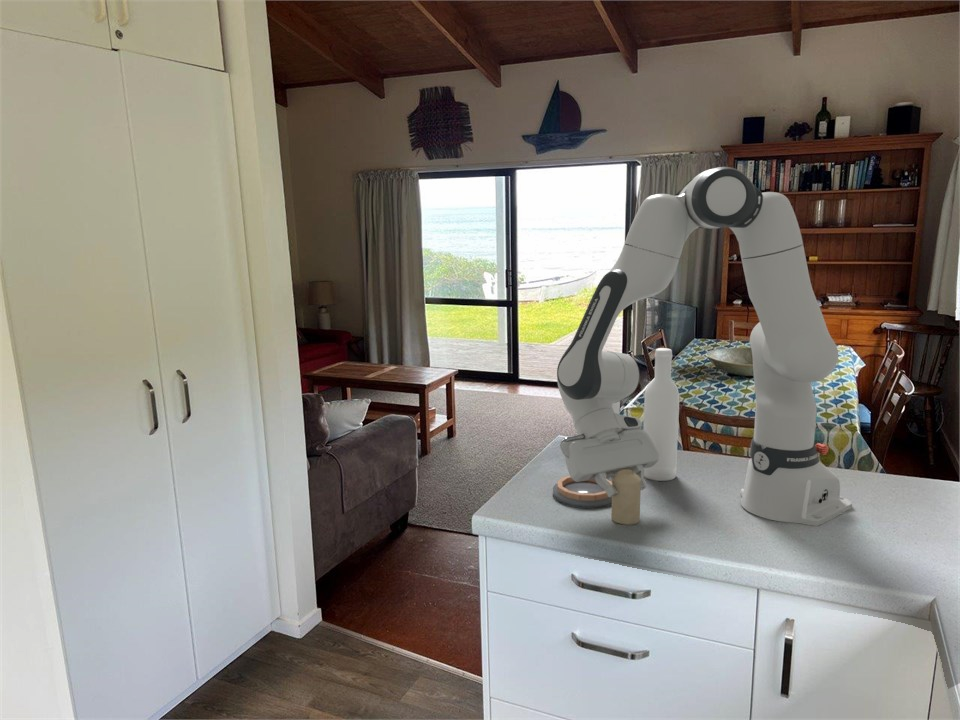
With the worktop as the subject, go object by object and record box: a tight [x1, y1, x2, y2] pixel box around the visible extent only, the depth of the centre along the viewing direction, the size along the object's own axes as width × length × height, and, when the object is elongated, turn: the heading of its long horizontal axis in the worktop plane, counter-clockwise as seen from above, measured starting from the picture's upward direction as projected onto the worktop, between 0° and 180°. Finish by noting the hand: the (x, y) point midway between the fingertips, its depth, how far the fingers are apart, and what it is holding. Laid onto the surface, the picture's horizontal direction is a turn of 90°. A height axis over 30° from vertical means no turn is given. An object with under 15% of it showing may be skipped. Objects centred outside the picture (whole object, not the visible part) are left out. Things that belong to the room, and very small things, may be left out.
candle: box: [610, 469, 642, 526], centre depth 131 cm, size 6×6×10 cm
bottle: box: [643, 347, 680, 482], centre depth 153 cm, size 8×8×30 cm
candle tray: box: [552, 475, 612, 509], centre depth 144 cm, size 14×14×2 cm
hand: (628, 492), depth 130 cm, fingers closed on candle, 5 cm apart
